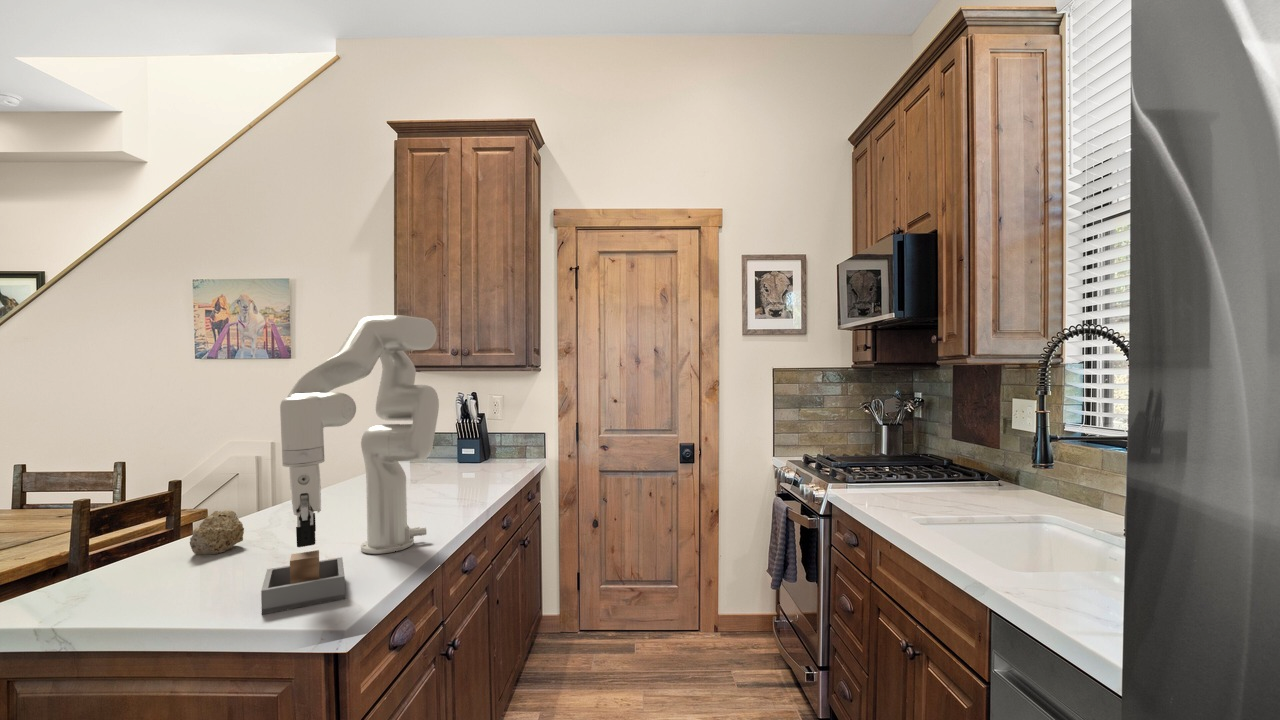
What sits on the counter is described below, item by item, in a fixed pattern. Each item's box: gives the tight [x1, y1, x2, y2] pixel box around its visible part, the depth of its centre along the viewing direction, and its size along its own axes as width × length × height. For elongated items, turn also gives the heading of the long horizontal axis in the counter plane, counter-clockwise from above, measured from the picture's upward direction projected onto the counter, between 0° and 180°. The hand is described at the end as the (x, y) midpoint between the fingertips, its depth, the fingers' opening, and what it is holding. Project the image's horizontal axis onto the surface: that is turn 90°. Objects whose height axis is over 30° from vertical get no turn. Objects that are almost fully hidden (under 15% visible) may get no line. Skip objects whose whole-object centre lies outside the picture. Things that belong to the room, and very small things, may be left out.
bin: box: [260, 556, 346, 616], centre depth 119 cm, size 14×14×4 cm
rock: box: [189, 510, 245, 556], centre depth 150 cm, size 11×12×10 cm
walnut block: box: [289, 549, 320, 584], centre depth 119 cm, size 5×5×7 cm
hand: (306, 539), depth 120 cm, fingers open, 9 cm apart
